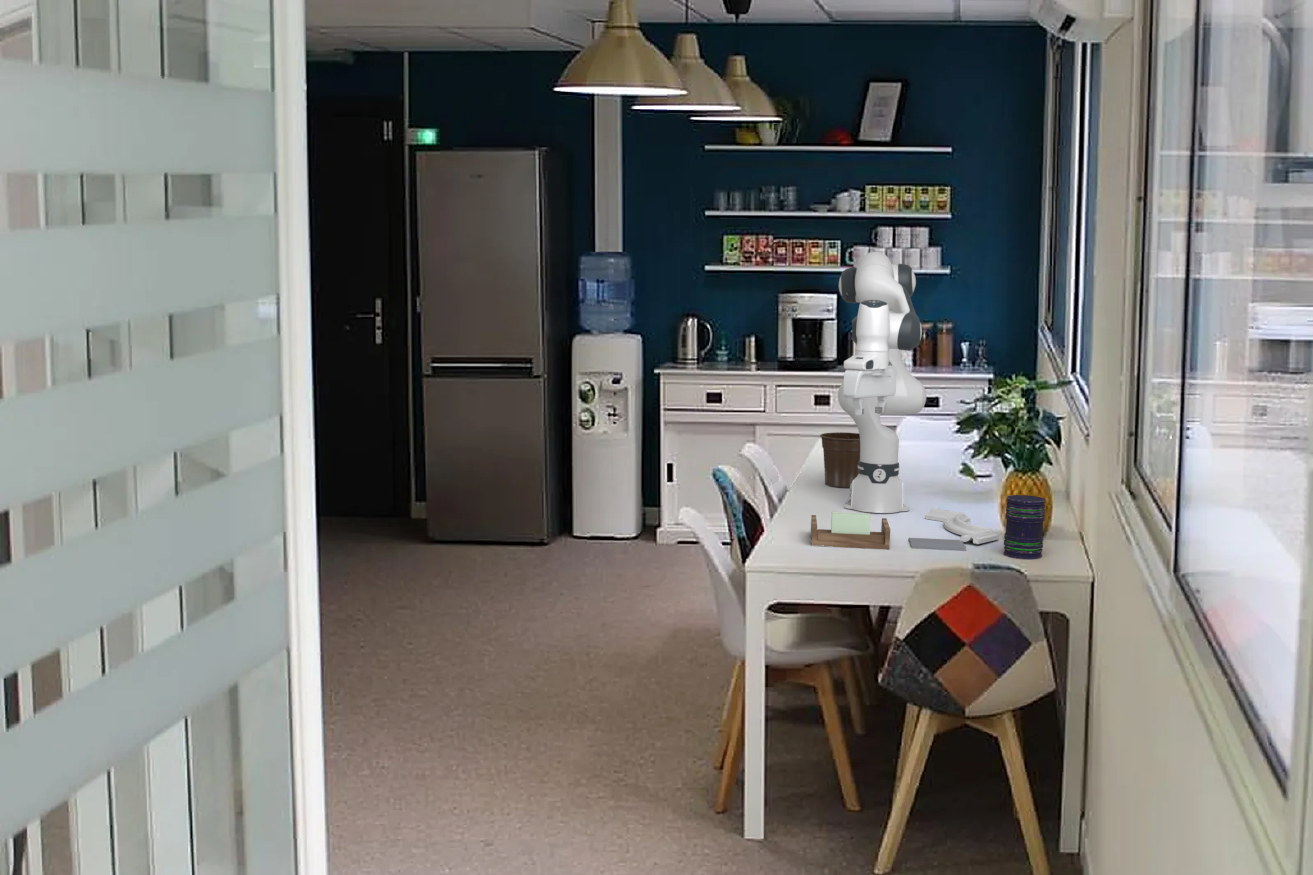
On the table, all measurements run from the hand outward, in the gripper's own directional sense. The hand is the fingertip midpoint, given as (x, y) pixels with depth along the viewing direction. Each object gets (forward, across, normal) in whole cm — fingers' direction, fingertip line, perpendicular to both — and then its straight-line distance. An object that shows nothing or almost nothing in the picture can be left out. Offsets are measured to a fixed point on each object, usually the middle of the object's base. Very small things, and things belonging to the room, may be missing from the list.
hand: (869, 414), depth 429 cm
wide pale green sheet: (+32, +10, +2) cm, 34 cm away
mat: (+34, -8, +18) cm, 39 cm away
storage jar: (+34, -13, +40) cm, 54 cm away
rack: (+33, +6, 0) cm, 34 cm away
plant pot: (+30, -69, -54) cm, 92 cm away
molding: (+33, -29, +10) cm, 45 cm away
